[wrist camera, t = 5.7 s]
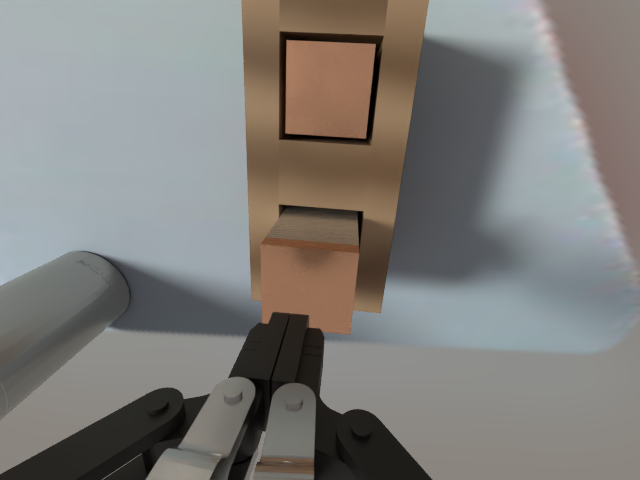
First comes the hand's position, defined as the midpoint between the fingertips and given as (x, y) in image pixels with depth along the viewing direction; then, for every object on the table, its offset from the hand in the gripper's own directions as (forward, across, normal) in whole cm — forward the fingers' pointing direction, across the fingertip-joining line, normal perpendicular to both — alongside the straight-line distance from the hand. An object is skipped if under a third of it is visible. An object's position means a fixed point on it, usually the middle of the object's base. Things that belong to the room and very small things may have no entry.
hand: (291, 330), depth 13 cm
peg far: (+18, 0, -10) cm, 21 cm away
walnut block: (+19, 0, -5) cm, 19 cm away
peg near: (+12, 0, 0) cm, 13 cm away
